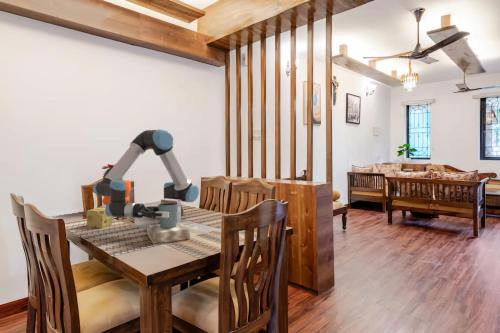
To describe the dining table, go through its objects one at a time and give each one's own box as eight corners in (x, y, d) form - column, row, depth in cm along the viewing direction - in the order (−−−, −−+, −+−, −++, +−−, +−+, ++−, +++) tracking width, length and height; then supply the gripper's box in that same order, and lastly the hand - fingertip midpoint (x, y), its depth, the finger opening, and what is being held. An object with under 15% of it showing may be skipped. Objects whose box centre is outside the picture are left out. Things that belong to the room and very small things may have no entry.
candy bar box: (160, 227, 181) (160, 199, 180) (165, 225, 186) (165, 198, 185) (176, 229, 177) (176, 200, 177) (181, 227, 182) (181, 199, 181)
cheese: (102, 228, 177) (101, 211, 176) (85, 227, 179) (85, 210, 179) (113, 224, 187) (113, 207, 187) (97, 223, 189) (97, 207, 189)
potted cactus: (92, 213, 218) (92, 163, 216) (111, 207, 240) (111, 162, 238) (120, 214, 215) (120, 164, 213) (137, 208, 237) (137, 162, 235)
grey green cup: (154, 227, 161) (154, 204, 160) (166, 223, 170) (165, 201, 169) (171, 229, 157) (170, 206, 156) (182, 224, 167) (181, 202, 166)
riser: (180, 230, 174) (180, 221, 174) (189, 239, 158) (189, 229, 158) (147, 234, 166) (147, 225, 166) (153, 243, 150) (153, 233, 150)
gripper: (146, 212, 176) (182, 214, 173) (122, 223, 151) (164, 224, 149) (146, 199, 176) (182, 201, 173) (122, 207, 151) (164, 209, 148)
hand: (173, 212), depth 161 cm, fingers open, 13 cm apart
